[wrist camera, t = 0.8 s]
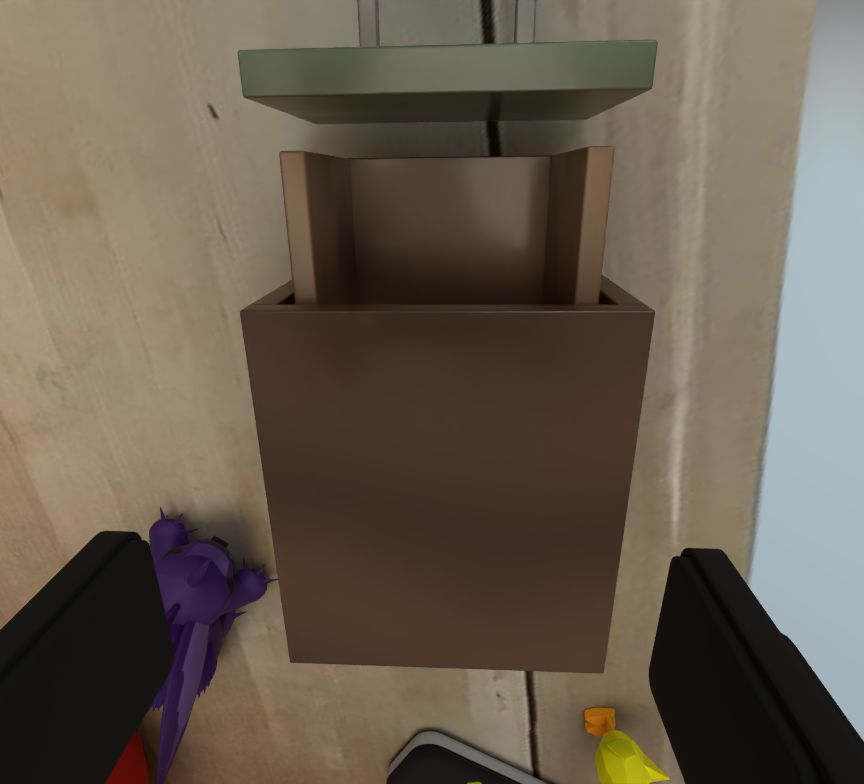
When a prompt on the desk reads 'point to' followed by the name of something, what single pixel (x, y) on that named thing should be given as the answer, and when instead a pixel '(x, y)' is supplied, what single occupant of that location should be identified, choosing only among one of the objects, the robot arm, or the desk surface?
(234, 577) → the creature
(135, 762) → the ceramic cup
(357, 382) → the cabinet
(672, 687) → the robot arm
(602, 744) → the toy figure
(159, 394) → the desk surface
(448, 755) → the remote control
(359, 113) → the drawer
